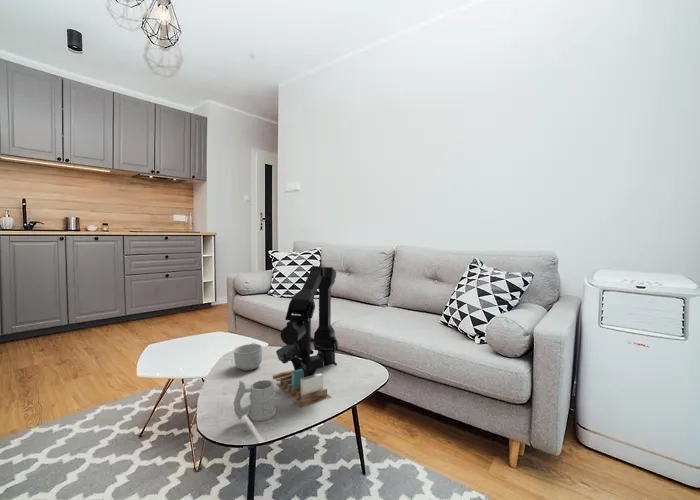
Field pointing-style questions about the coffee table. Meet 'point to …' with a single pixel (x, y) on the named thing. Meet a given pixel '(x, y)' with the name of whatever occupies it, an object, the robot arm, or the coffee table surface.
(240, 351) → the teacup
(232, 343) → the coffee table surface
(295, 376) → the teal rectangular prism
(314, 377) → the cream plate
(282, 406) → the coffee table surface
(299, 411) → the coffee table surface
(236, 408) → the mug
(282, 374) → the wooden slats
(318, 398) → the rack
